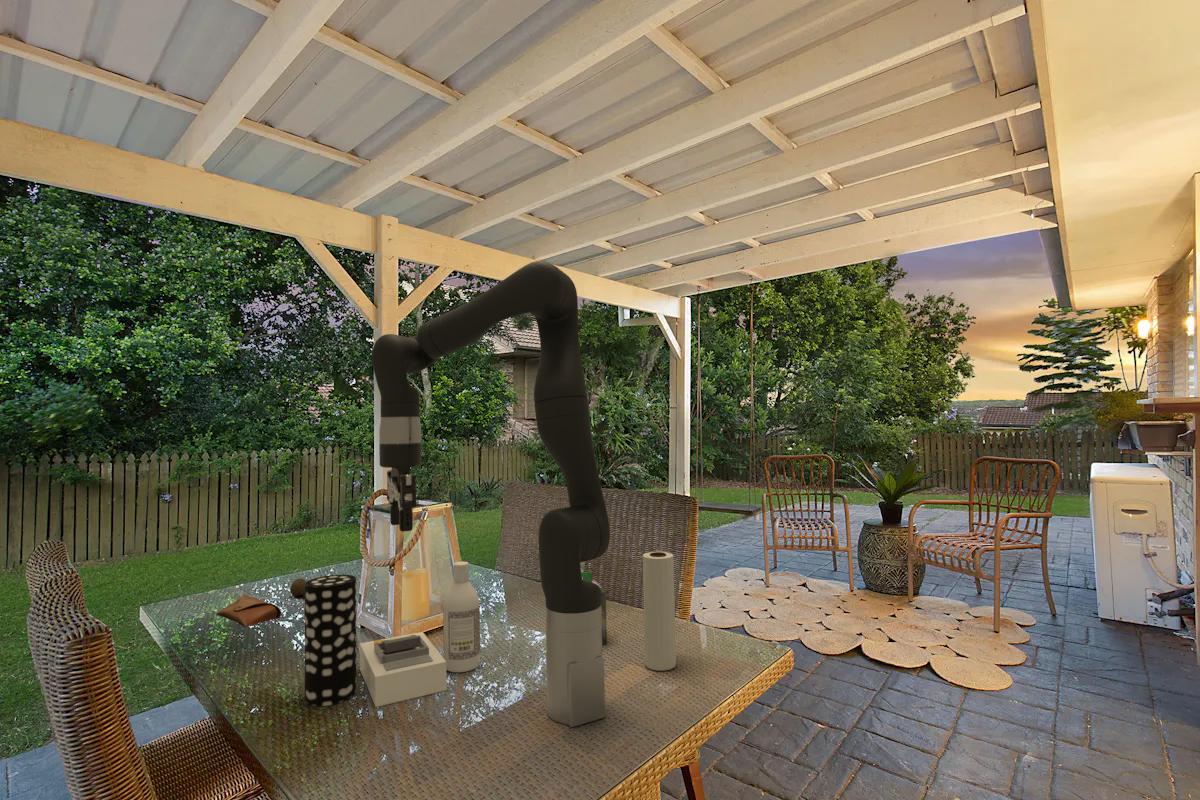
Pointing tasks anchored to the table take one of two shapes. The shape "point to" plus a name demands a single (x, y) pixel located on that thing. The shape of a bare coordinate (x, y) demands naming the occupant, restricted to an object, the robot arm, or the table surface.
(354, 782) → the table surface
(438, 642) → the table surface
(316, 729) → the table surface
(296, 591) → the kendama
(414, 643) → the rocker paddle
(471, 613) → the bath foam
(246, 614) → the sunglasses case
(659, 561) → the paper towel roll
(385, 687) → the switch box
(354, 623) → the spotted tube
